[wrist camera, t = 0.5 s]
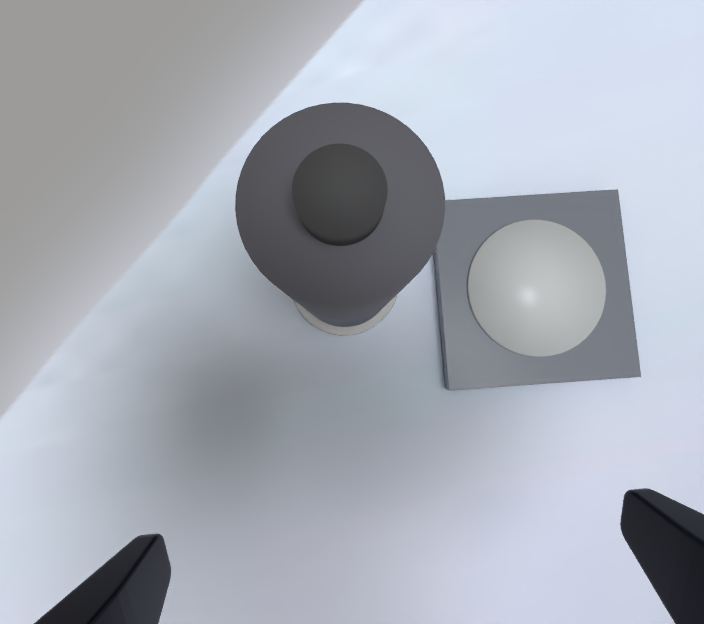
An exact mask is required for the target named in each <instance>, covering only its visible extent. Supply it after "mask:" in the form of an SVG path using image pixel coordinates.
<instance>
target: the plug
mask: <svg viewBox="0 0 704 624" xmlns="http://www.w3.org/2000/svg"><path fill="white" fill-rule="evenodd" d="M235 210H236V219H237V225H238V229H239V233H240V237H241V239H242V242H243V244H244V247H245V249H246V251H247V252H248V254H249V256H250V258H251V259H252V261H253V262H254V264H255V265H256V266H257V268H258V269H259V270H260V272H261V273H262V274H263V275H264V276H265V277H266V278H267V279H268V280H269V281H271V282H272V283H273V284H274V285H276V286H277V287H278V288H279V289H281V290H282V291H283V292H284V293H286V294H287V295H288V296H290V297H291V298H292V299H293V300H294V302H295V304H296V306H297V308H298V310H299V311H300V313H301V314H302V315H303V316H304V317H305V318H306V319H307V320H308V321H309V322H310V323H311V324H312V325H314V326H315V327H317V328H319V329H321V330H323V331H325V332H328V333H331V334H335V335H354V334H358V333H362V332H364V331H367V330H369V329H370V328H372V327H374V326H375V325H377V324H378V323H379V322H380V321H382V320H383V319H384V318H385V316H386V315H387V314H388V313H389V311H390V310H391V308H392V306H393V305H394V302H395V300H396V297H397V294H398V293H399V292H400V291H401V290H402V289H403V288H404V287H405V286H406V285H407V284H408V283H409V282H410V281H411V280H412V279H413V278H414V277H415V276H416V275H417V274H418V273H419V272H420V271H421V270H422V269H423V267H424V266H425V265H426V263H427V262H428V261H429V259H430V257H431V255H432V254H433V252H434V250H435V248H436V246H437V243H438V241H439V238H440V235H441V231H442V227H443V223H444V215H445V194H444V188H443V182H442V179H441V176H440V172H439V169H438V167H437V165H436V163H435V160H434V158H433V157H432V155H431V153H430V152H429V150H428V148H427V147H426V146H425V144H424V143H423V142H422V141H421V139H420V138H419V137H418V136H417V135H416V134H415V133H414V132H413V131H412V130H411V129H410V128H409V127H407V126H406V125H405V124H403V123H402V122H401V121H399V120H398V119H396V118H394V117H392V116H391V115H389V114H387V113H385V112H382V111H380V110H377V109H375V108H372V107H368V106H364V105H360V104H352V103H328V104H320V105H316V106H312V107H308V108H305V109H303V110H300V111H298V112H295V113H293V114H291V115H290V116H288V117H286V118H284V119H283V120H281V121H280V122H278V123H277V124H276V125H274V126H273V127H272V128H271V129H270V130H268V131H267V132H266V133H265V134H264V135H263V136H262V137H261V139H260V140H259V141H258V142H257V144H256V145H255V146H254V147H253V149H252V151H251V152H250V154H249V156H248V157H247V159H246V161H245V164H244V166H243V168H242V170H241V174H240V177H239V180H238V185H237V191H236V206H235Z"/></svg>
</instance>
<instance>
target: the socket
mask: <svg viewBox="0 0 704 624" xmlns="http://www.w3.org/2000/svg"><path fill="white" fill-rule="evenodd" d="M434 259H435V271H436V283H437V294H438V306H439V317H440V329H441V341H442V352H443V364H444V376H445V387H446V389H447V390H463V389H477V388H491V387H505V386H519V385H533V384H547V383H561V382H575V381H589V380H602V379H616V378H630V377H641V373H640V364H639V356H638V348H637V340H636V332H635V324H634V316H633V308H632V300H631V291H630V283H629V275H628V267H627V259H626V251H625V243H624V235H623V227H622V219H621V210H620V202H619V194H618V190H602V191H587V192H571V193H555V194H540V195H524V196H508V197H493V198H477V199H461V200H446V201H445V215H444V223H443V227H442V231H441V235H440V238H439V241H438V243H437V246H436V248H435V250H434Z"/></svg>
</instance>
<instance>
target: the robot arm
mask: <svg viewBox="0 0 704 624" xmlns="http://www.w3.org/2000/svg"><path fill="white" fill-rule="evenodd" d="M620 525H621V531H622V534H623V536H624V538H625V540H626V542H627V543H628V545H629V547H630V549H631V550H632V552H633V554H634V555H635V557H636V559H637V560H638V562H639V564H640V565H641V567H642V569H643V570H644V572H645V574H646V576H647V577H648V579H649V581H650V582H651V584H652V586H653V587H654V589H655V591H656V592H657V594H658V596H659V597H660V599H661V601H662V602H663V604H664V606H665V608H666V609H667V611H668V612H669V614H670V616H671V617H672V619H673V620H674V622H675V624H704V514H702V513H700V512H697V511H695V510H693V509H691V508H689V507H687V506H685V505H683V504H681V503H679V502H677V501H675V500H672V499H670V498H668V497H666V496H664V495H662V494H660V493H658V492H656V491H654V490H651V489H634V490H628V491H627V492H626V493H625V495H624V500H623V507H622V515H621V523H620ZM170 577H171V566H170V562H169V558H168V554H167V550H166V546H165V542H164V539H163V537H162V535H160V534H148V535H140V536H138V537H136V538H135V539H133V540H132V541H131V542H130V543H129V544H128V545H126V546H125V547H124V548H123V549H122V550H120V551H119V552H118V553H117V554H116V555H115V556H113V557H112V558H111V559H110V560H109V561H107V562H106V563H105V564H104V565H103V566H102V567H100V568H99V569H98V570H97V571H96V572H94V573H93V574H92V575H91V576H90V577H89V578H87V579H86V580H85V581H84V582H83V583H81V584H80V585H79V586H78V587H77V588H76V589H74V590H73V591H72V592H71V593H70V594H68V595H67V596H66V597H65V598H64V599H63V600H61V601H60V602H59V603H58V604H57V605H55V606H54V607H53V608H52V609H51V610H50V611H48V612H47V613H46V614H45V615H44V616H42V617H41V618H40V619H39V620H38V621H37V622H35V623H34V624H158V622H159V619H160V615H161V611H162V608H163V604H164V600H165V597H166V593H167V589H168V586H169V582H170Z"/></svg>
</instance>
